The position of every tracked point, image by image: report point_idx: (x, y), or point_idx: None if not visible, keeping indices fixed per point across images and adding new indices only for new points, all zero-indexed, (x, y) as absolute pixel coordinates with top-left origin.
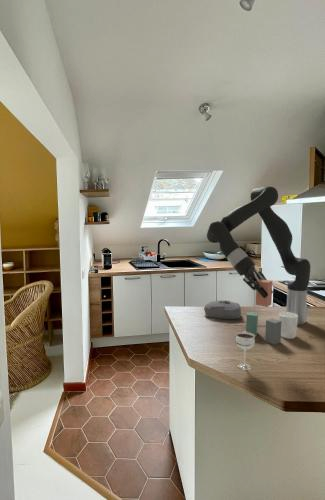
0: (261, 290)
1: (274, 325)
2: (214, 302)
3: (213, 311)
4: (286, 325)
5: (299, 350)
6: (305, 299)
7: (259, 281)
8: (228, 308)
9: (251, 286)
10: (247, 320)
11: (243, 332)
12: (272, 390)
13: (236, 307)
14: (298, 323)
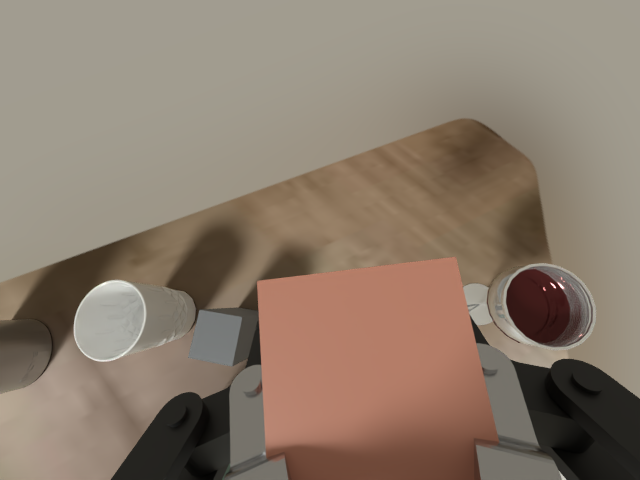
0: (475, 328)
1: (245, 319)
2: None
3: None
4: (169, 309)
5: (258, 242)
6: None
7: (495, 430)
8: None
9: (629, 474)
10: (229, 465)
11: (520, 332)
12: (518, 194)
13: None
14: (45, 331)
